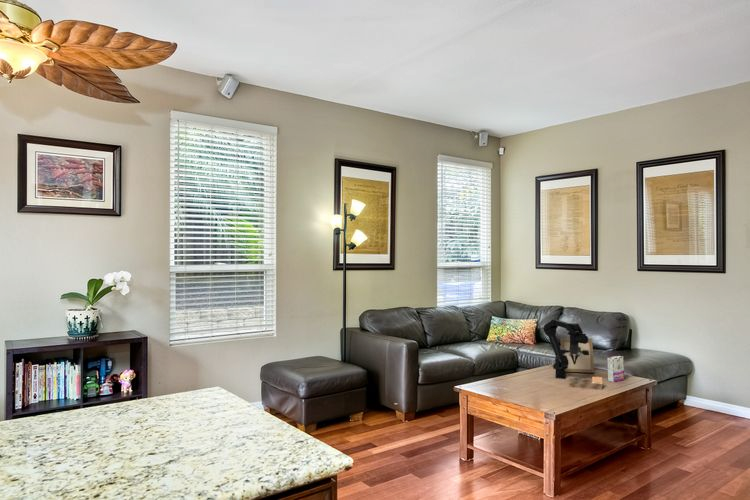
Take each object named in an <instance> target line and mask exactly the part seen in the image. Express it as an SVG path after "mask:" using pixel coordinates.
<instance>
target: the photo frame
mask: <svg viewBox="0 0 750 500" xmlns="http://www.w3.org/2000/svg"><path fill="white" fill-rule="evenodd" d="M579 347H581V351H583V350H589V355H583V354H580V356H578V358H577V360H576V363H575V364H574V363H573V360H572V358H571V356H570V355H569V353H565V354H563V355H564V356H567V359H568V360H569V361H568V362H569V364H568V368H567V369H565V371H566V373H586V374H587V373H590V374H591V373H593V374H594V373H595V364H594V363H595V362H594V349H593V348H594V347H593V338H588V342H587V343H586V344H583V343H579ZM560 348H561V349H566V350H570V337H561V338H560ZM575 355H576V354H574V361H575Z"/></svg>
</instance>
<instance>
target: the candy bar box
mask: <svg viewBox="0 0 750 500" xmlns="http://www.w3.org/2000/svg"><path fill="white" fill-rule="evenodd" d="M606 360H607V381H608V382H610V383H611V382H613V383H616V382H617V381H618V382H621V381H625V359H624V356H621V355H614V356H608V357H607V359H606Z"/></svg>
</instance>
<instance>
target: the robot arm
mask: <svg viewBox="0 0 750 500" xmlns="http://www.w3.org/2000/svg"><path fill="white" fill-rule="evenodd" d="M559 327H560V328H563V329H566V331H568V332H567V335H569V338H570V350H566V349H561V345H560V344H559V343H560V342H559V341H558V338H557V336H556V334H557V329H558V328H559ZM542 329H543V332H544V334H545V336H547V337H548V339H549V341H550V345H551V347H552V350H553V353H554V356H555V358H554V364H553V365H552V368H553V369H554V370H555V378H556V379H566V378H567V372H566V371H565V369H567V368H568V364H569V362H568V361H569V360H568V359H567V356H564V355H563V354H565V353H569V355H570V356H571V358H572V360H573V363H574V364H575V363H576V360H577V358H578V356H580V354H583V355H589V350H583V351H581V347H579V343H583V344H586V343H587V342H588V339H589V337H588V336H587V334H586V333H584V331H583V330H582V328H581V326H580V324H579V323H575V322H573V323H572V322H567V321H562V320H560V319H558V318H557V319H555V318H554V319H551V321H549V322H547V323H546V324H544V325H543V328H542ZM574 354H576V355H575V361H574Z"/></svg>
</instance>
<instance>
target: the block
mask: <svg viewBox="0 0 750 500" xmlns="http://www.w3.org/2000/svg"><path fill="white" fill-rule="evenodd" d="M591 380H592V382H593V383H602V384H603V377H601V376H592V378H591Z"/></svg>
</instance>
